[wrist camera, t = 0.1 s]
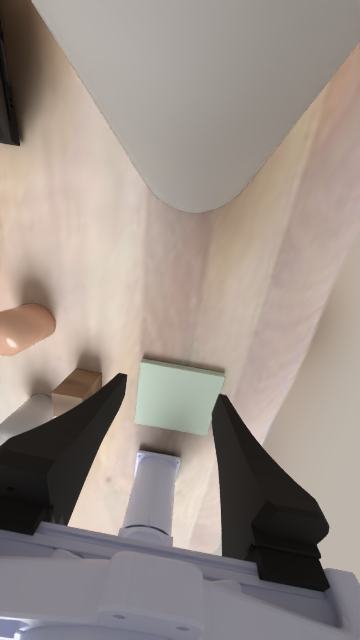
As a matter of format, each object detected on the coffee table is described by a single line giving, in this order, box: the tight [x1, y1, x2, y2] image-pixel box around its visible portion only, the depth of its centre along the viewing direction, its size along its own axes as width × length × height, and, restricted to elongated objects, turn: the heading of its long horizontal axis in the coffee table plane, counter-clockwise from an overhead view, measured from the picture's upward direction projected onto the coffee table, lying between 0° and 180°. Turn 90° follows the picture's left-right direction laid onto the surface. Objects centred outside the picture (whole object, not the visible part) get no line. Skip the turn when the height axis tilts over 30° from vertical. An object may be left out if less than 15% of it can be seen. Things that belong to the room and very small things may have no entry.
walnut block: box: [51, 369, 102, 416], centre depth 24 cm, size 4×4×5 cm
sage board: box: [135, 358, 225, 436], centre depth 26 cm, size 12×12×1 cm
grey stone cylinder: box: [0, 394, 54, 446], centre depth 26 cm, size 5×5×6 cm
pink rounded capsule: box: [0, 303, 56, 356], centre depth 21 cm, size 5×5×5 cm
